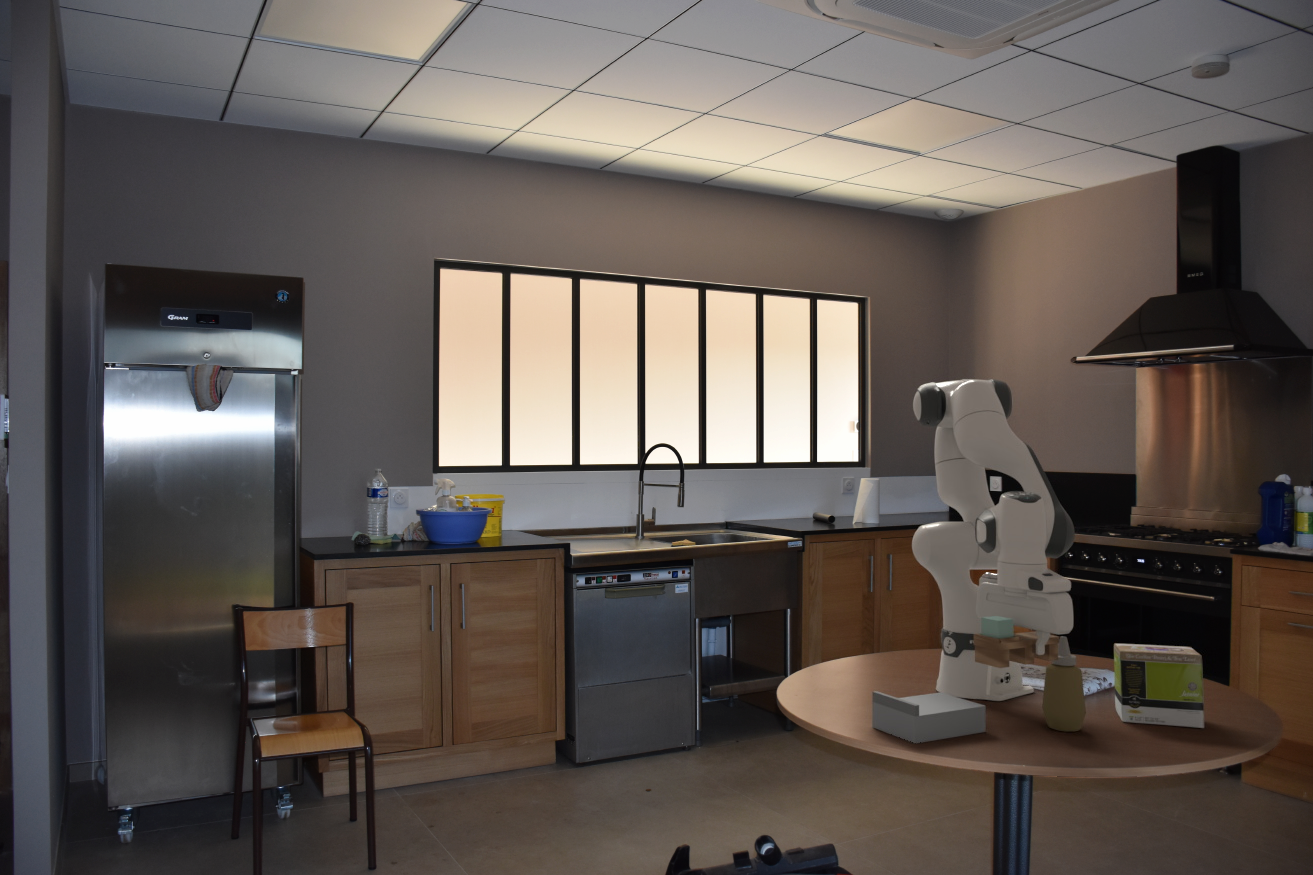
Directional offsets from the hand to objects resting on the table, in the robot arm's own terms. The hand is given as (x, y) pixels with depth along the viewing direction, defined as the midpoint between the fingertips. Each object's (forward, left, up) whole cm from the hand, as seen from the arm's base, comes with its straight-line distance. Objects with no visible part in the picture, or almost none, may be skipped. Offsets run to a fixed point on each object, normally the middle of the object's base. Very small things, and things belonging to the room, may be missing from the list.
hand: (1022, 650), depth 177 cm
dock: (+11, -13, -17) cm, 24 cm away
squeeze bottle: (-14, -2, -17) cm, 22 cm away
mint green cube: (+7, 0, +2) cm, 7 cm away
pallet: (+2, 0, -2) cm, 2 cm away
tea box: (-37, +2, -17) cm, 41 cm away
